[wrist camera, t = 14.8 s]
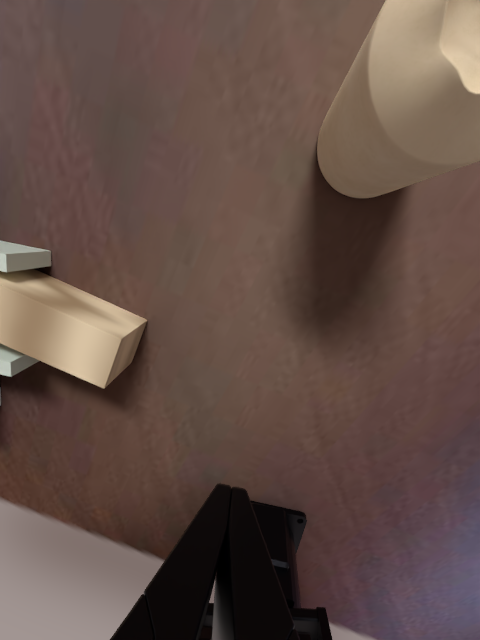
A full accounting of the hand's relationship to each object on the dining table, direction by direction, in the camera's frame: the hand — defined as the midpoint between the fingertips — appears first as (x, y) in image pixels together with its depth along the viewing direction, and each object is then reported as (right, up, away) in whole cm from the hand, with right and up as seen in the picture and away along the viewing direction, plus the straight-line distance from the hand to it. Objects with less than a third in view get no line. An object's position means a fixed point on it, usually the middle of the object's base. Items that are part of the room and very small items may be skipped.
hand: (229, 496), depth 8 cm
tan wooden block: (-11, +6, +12) cm, 17 cm away
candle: (+7, +15, +8) cm, 18 cm away
